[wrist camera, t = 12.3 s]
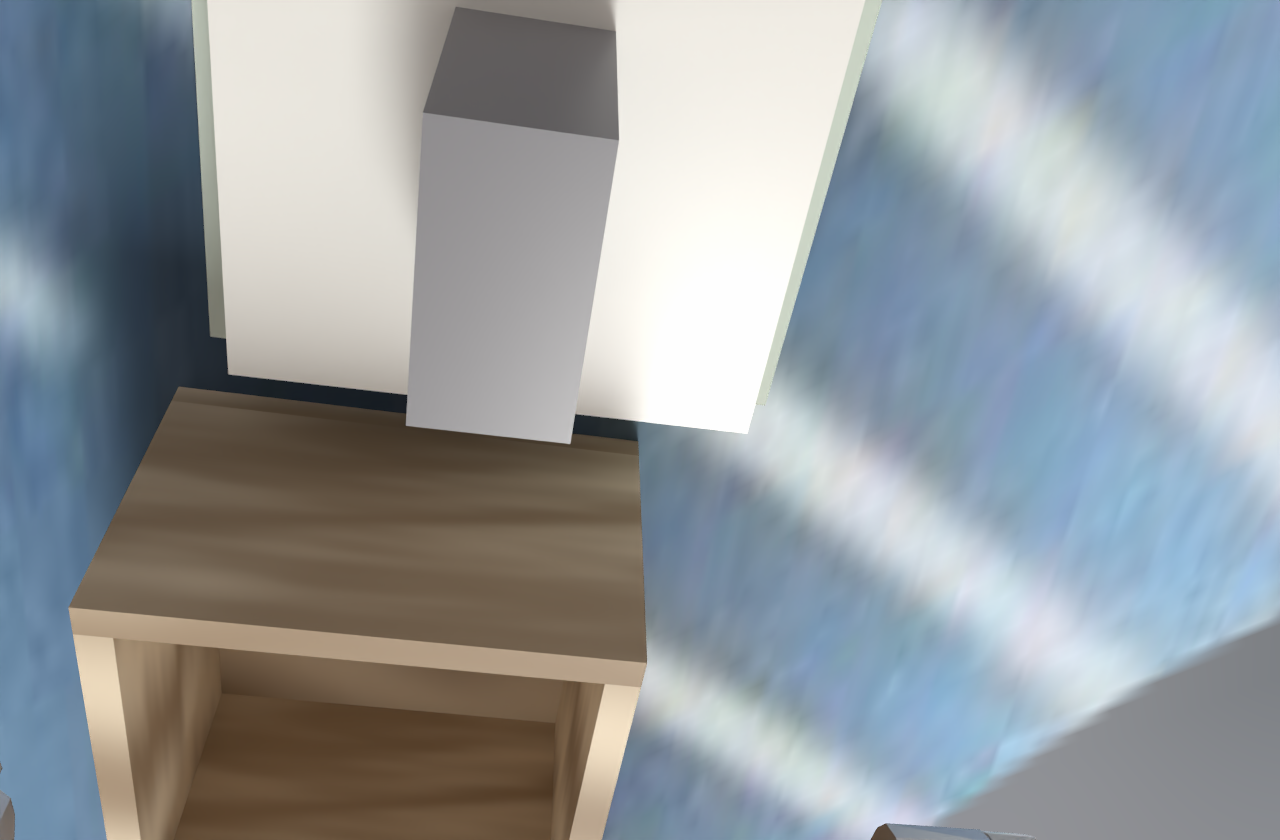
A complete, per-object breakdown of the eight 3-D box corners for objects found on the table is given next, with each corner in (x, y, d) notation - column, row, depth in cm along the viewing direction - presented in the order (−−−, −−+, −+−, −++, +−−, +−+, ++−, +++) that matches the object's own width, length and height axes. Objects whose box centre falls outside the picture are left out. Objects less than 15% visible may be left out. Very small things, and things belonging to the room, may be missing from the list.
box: (180, 382, 30) (68, 607, 24) (638, 437, 32) (646, 663, 26) (203, 687, 38) (121, 924, 31) (577, 721, 39) (572, 953, 33)
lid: (232, -240, 22) (90, -152, 16) (866, -130, 23) (960, -11, 17) (254, 315, 29) (162, 522, 23) (737, 373, 30) (771, 583, 24)
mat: (179, -330, 21) (173, -328, 21) (930, -187, 23) (935, -183, 22) (214, 327, 29) (210, 336, 29) (763, 396, 31) (765, 405, 31)
